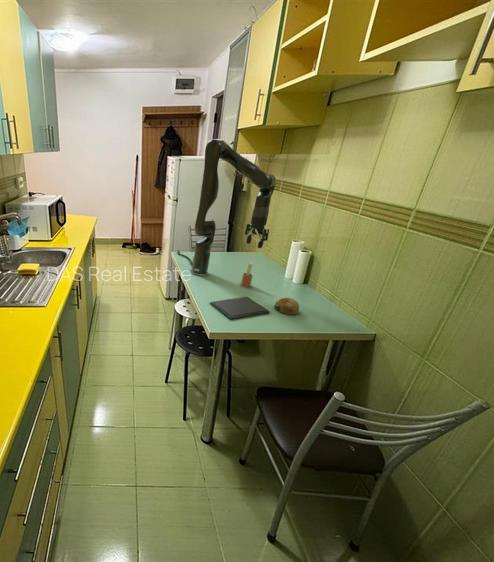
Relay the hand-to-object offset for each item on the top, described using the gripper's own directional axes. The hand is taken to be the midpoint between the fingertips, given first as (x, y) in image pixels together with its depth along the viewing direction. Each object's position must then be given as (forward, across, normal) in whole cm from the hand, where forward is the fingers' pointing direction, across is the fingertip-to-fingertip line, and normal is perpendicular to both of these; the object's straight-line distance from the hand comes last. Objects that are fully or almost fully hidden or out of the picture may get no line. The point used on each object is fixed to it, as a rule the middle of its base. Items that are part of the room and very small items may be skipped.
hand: (253, 245), depth 162 cm
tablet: (+24, -21, +21) cm, 38 cm away
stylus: (+23, 0, 0) cm, 23 cm away
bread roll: (+24, -29, 0) cm, 38 cm away
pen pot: (+24, 0, 0) cm, 24 cm away
